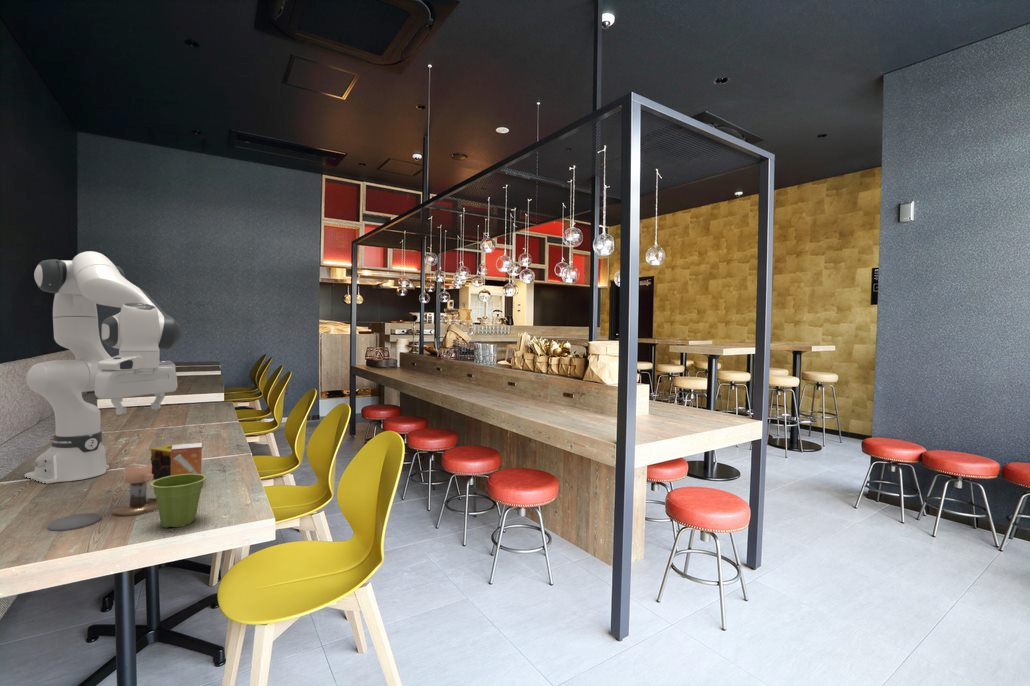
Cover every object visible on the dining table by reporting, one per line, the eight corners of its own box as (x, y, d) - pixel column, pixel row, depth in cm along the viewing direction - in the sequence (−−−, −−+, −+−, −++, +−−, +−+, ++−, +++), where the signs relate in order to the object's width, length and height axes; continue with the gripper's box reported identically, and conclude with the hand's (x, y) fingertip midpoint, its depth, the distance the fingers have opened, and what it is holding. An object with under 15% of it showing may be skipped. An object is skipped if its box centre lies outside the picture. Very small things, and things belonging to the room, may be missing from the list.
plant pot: (216, 516, 128) (217, 475, 127) (176, 534, 116) (176, 489, 116) (180, 512, 130) (181, 471, 130) (137, 529, 119) (138, 484, 119)
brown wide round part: (101, 513, 128) (101, 483, 128) (142, 499, 138) (142, 472, 138) (132, 518, 125) (133, 488, 125) (172, 504, 136) (172, 476, 136)
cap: (114, 481, 130) (114, 466, 130) (136, 475, 136) (136, 460, 136) (139, 485, 128) (139, 469, 127) (161, 478, 133) (161, 463, 133)
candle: (170, 482, 155) (170, 451, 155) (148, 478, 158) (148, 448, 158) (199, 473, 165) (200, 445, 164) (178, 470, 168) (179, 442, 168)
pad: (37, 527, 118) (37, 525, 118) (82, 513, 127) (82, 511, 127) (66, 533, 115) (66, 530, 115) (110, 517, 125) (110, 515, 125)
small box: (170, 491, 147) (170, 449, 146) (171, 485, 152) (171, 444, 152) (201, 487, 151) (202, 446, 151) (201, 481, 156) (202, 442, 156)
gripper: (166, 359, 142) (166, 405, 142) (90, 363, 122) (90, 416, 122) (183, 360, 140) (182, 406, 141) (109, 364, 120) (108, 418, 121)
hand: (139, 411), depth 131 cm, fingers open, 8 cm apart
